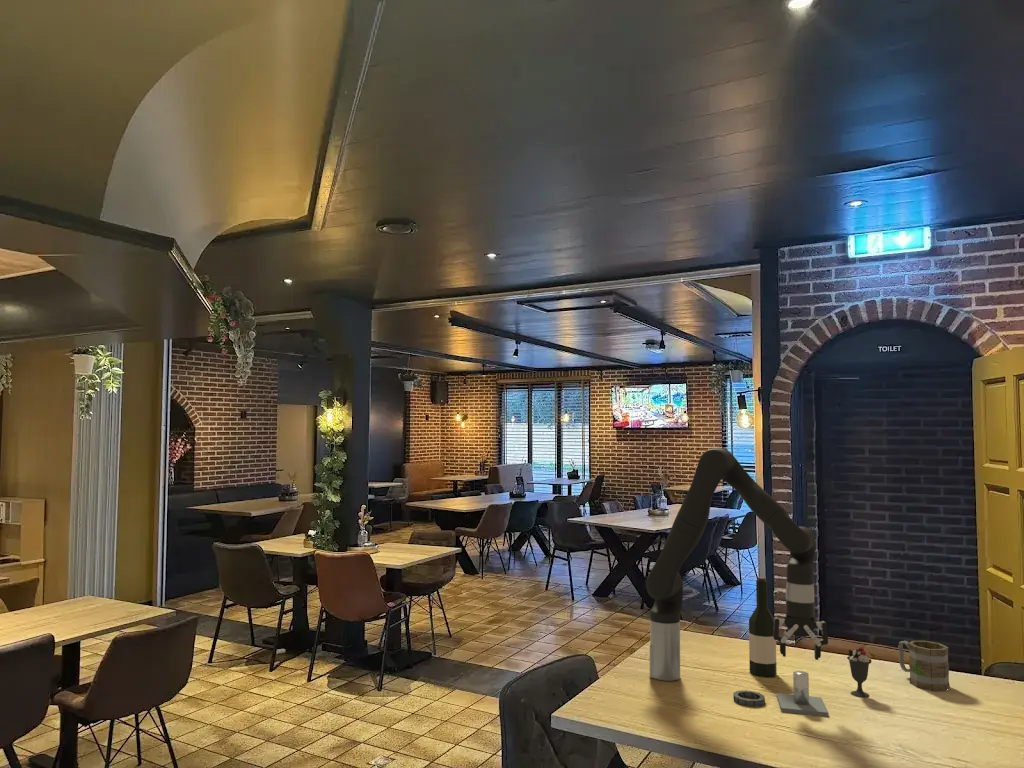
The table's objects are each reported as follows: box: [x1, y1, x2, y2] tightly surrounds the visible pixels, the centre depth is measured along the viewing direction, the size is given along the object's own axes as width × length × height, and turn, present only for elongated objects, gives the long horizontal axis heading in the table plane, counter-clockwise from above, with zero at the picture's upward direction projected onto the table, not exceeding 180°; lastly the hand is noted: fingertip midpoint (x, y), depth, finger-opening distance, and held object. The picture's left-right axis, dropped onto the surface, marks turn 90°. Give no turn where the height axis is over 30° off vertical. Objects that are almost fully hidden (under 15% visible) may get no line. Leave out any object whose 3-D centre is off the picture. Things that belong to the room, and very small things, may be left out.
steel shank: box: [792, 670, 810, 705], centre depth 201 cm, size 4×4×8 cm
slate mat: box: [776, 692, 829, 717], centre depth 200 cm, size 12×12×1 cm
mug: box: [897, 640, 951, 692], centre depth 222 cm, size 16×11×12 cm
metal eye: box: [732, 689, 766, 708], centre depth 204 cm, size 8×8×2 cm
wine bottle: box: [748, 576, 778, 679], centre depth 230 cm, size 8×8×30 cm
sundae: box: [846, 643, 872, 698], centre depth 211 cm, size 7×7×15 cm
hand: (800, 657), depth 202 cm, fingers open, 8 cm apart
